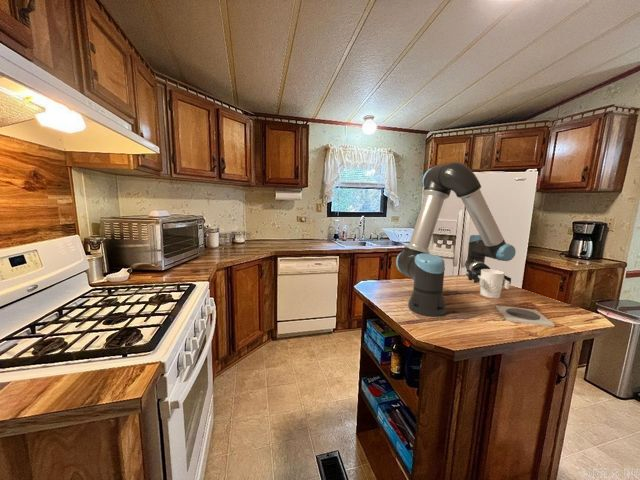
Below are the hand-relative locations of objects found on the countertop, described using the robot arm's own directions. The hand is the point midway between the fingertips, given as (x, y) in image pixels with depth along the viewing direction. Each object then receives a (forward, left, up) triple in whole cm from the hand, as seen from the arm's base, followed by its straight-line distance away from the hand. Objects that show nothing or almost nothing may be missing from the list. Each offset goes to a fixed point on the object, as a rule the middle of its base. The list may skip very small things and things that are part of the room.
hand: (495, 284), depth 100 cm
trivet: (+14, +11, -15) cm, 23 cm away
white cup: (0, +5, -6) cm, 8 cm away
